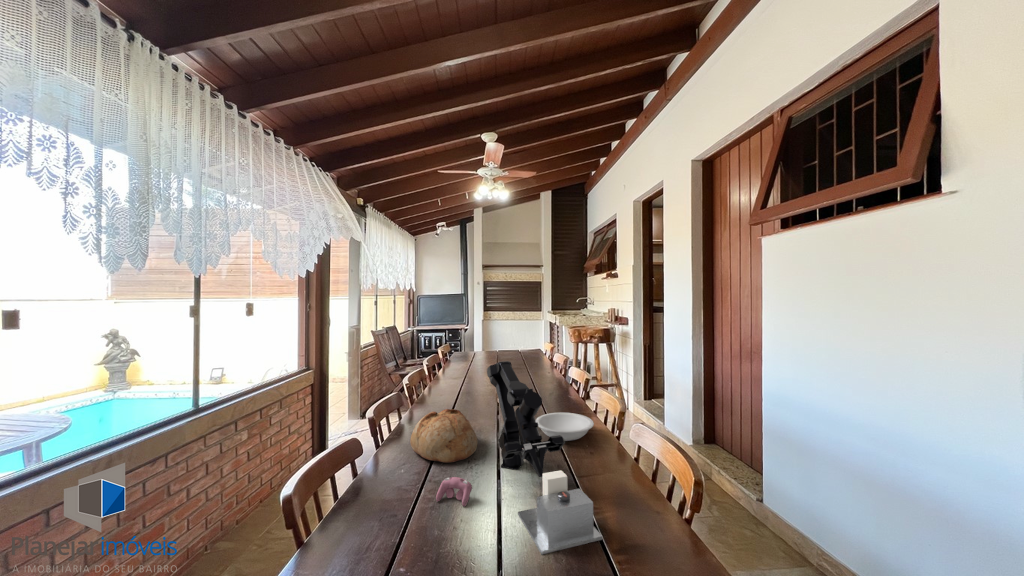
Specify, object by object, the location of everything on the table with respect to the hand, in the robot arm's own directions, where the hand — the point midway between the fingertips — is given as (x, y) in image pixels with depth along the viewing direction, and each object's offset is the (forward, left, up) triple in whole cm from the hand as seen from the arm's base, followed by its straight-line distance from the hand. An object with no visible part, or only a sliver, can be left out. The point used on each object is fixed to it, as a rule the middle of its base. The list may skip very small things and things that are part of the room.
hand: (541, 476), depth 107 cm
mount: (+7, -8, -8) cm, 13 cm away
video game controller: (-24, -7, -8) cm, 27 cm away
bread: (-45, +22, -8) cm, 51 cm away
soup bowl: (-6, +51, -8) cm, 52 cm away
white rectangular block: (+8, -10, -7) cm, 14 cm away
